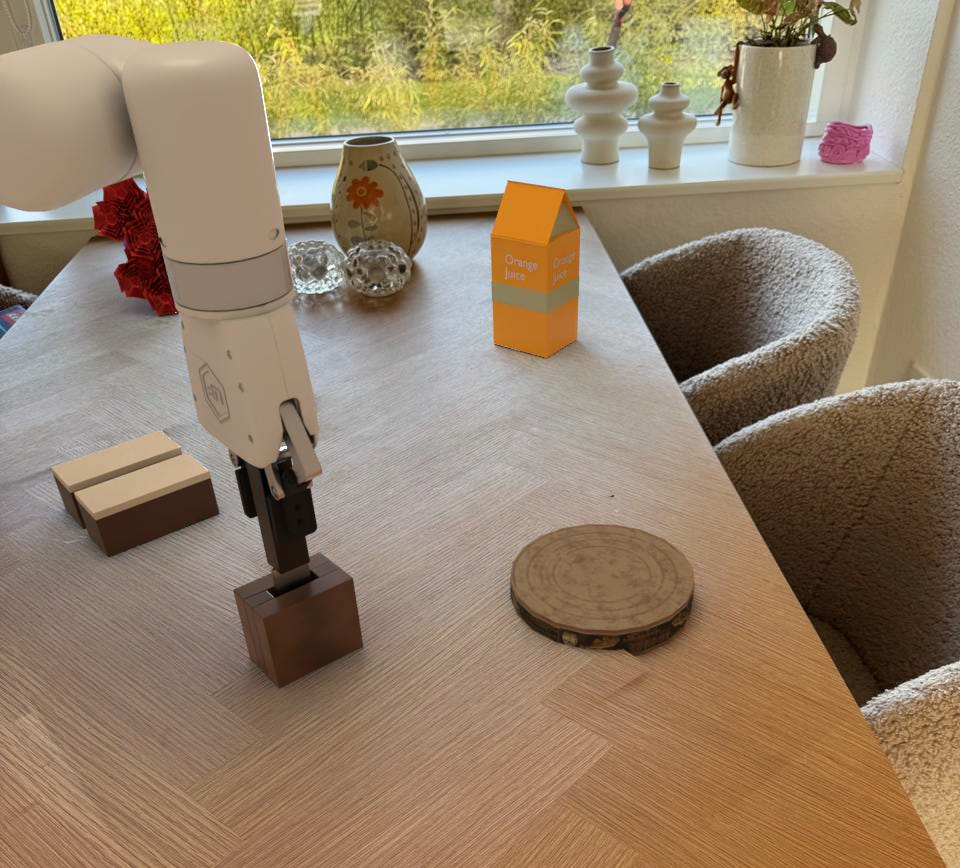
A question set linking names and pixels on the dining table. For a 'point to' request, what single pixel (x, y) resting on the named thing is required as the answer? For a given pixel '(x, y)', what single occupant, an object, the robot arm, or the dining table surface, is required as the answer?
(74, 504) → the cake
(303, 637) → the knife block
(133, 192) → the bouquet
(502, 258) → the orange juice
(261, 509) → the knife
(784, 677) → the dining table surface
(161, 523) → the cake slice
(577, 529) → the wood slice coaster
